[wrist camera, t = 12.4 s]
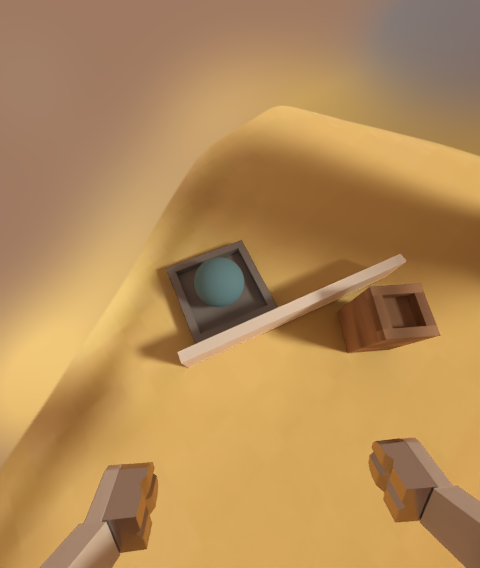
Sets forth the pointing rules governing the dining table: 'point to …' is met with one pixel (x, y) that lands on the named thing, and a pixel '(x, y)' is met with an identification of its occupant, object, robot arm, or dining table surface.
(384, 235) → the dining table surface
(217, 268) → the ball
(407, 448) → the robot arm
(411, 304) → the stand
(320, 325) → the dining table surface
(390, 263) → the wooden wall
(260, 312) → the tray
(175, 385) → the dining table surface
